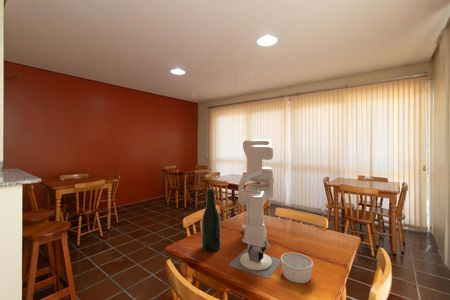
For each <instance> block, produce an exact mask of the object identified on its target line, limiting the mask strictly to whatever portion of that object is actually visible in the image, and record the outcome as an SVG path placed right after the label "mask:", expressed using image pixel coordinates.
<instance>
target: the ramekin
mask: <svg viewBox="0 0 450 300" xmlns="http://www.w3.org/2000/svg"><path fill="white" fill-rule="evenodd" d="M280 259H281V262H280V265H281V272H282V275H283V276H284V278H286V279H287V280H288V281H291V282H293V283H297V284H306V283H308V282H309V281H310V280H311V278H312V274H313V273H312V271H313V268H314V262H313V260H312V259H311V258H310V257H309V256H307V255H305V254H302V253H298V252H285V253H283V254H282V255H281V257H280Z"/></svg>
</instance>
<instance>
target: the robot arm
mask: <svg viewBox="0 0 450 300" xmlns="http://www.w3.org/2000/svg"><path fill="white" fill-rule="evenodd" d="M242 149H243V152H244V155H245V156H246V172H245V173H244V174H243V175H242V176H241V178H240V180H239V182H238V187H237V188H238V190H237V191H238V192H237V193H238V194H237V196H238V197H237V198H238V199H237V200H238V203H239V204H240V205H241V206H246V215H245V217H244V218H245V219H246V222H245V224H241V229H243V230H244V233H243V236H244V237H242V239H241V241H242V242H243V244H244V245H245V246H246V249H247V250H248V255H249V258H250V249H251V248H252V247H253V246H254V247H258V248H259V251H260V252H259V261H261V260H262V259H263V253H264V252H265V251H266V250H268V249H270V248H271V245H270V243H269V241H268V237H267V235H268V234H267V229H266V224H265V222H264V221H265V220H264V219H265V218H264V213H265V212H264V205H265V204H266V202H267V201H268V200H272V199H273V197H274V172H273V171H274V170H273V168H271V167H270V166H263V161H271V160H272V159H273V158H274V148H273V144H272V141H271V139H267V138H266V139H265V138H263V139H261V138H260V139H259V138H258V139H257V138H254V139H253V138H252V139H246V140H244V141H243V143H242ZM248 181H249V182H255V183H249V184H247V185H246V183H247V182H248ZM245 185H246V186H245ZM244 187H245V189H244Z"/></svg>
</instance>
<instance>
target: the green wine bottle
mask: <svg viewBox="0 0 450 300" xmlns="http://www.w3.org/2000/svg"><path fill="white" fill-rule="evenodd" d="M215 194H216V192H215V189H214V188H213V187H208V188H207V190H206V204H205V205H206V206H205V208H204V212H203V215H202V218H201V249H202V250H203V251H204V250H205V251H204V252H206V251H207V252H208V253H215V252H218V251H220V249H221V246H222V241H221V240H222V239H221V237H222V235H221V219H220V214H219V211H218V208H217V207H216V197H215V196H216V195H215ZM214 251H215V252H214ZM207 252H206V253H207Z"/></svg>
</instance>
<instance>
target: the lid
mask: <svg viewBox="0 0 450 300" xmlns="http://www.w3.org/2000/svg"><path fill="white" fill-rule="evenodd" d="M259 252H260V251H259V247H257V246H253V245H252V248H251V249H250V258H249V255H248V253H245V254H243V255H242V256H241V257H240V263H241V265H242V266H244V267H245V268H247V269H250V270H256V271H260V270H265V269H268V268H269V267H270V266H271V265H272V260H271V258H270V257H269V256H270V255H268V254H267V253H264V252H263V259H262V260H261V261H259Z"/></svg>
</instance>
